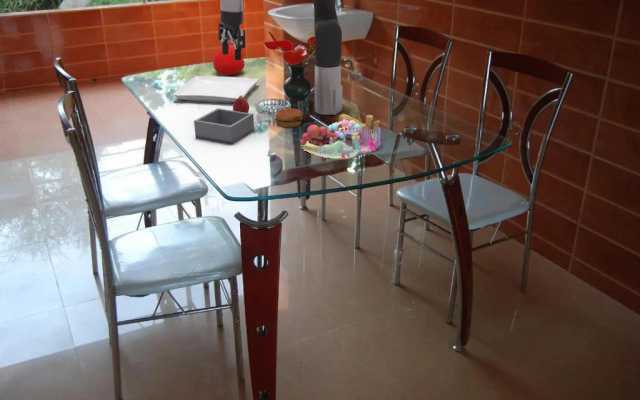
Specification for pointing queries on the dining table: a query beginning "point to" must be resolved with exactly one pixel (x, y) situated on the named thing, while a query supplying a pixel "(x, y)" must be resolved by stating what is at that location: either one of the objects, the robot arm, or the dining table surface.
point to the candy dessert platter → (342, 138)
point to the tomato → (228, 63)
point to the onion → (241, 105)
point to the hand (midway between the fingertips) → (231, 57)
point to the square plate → (215, 89)
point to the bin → (224, 126)
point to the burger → (289, 117)
